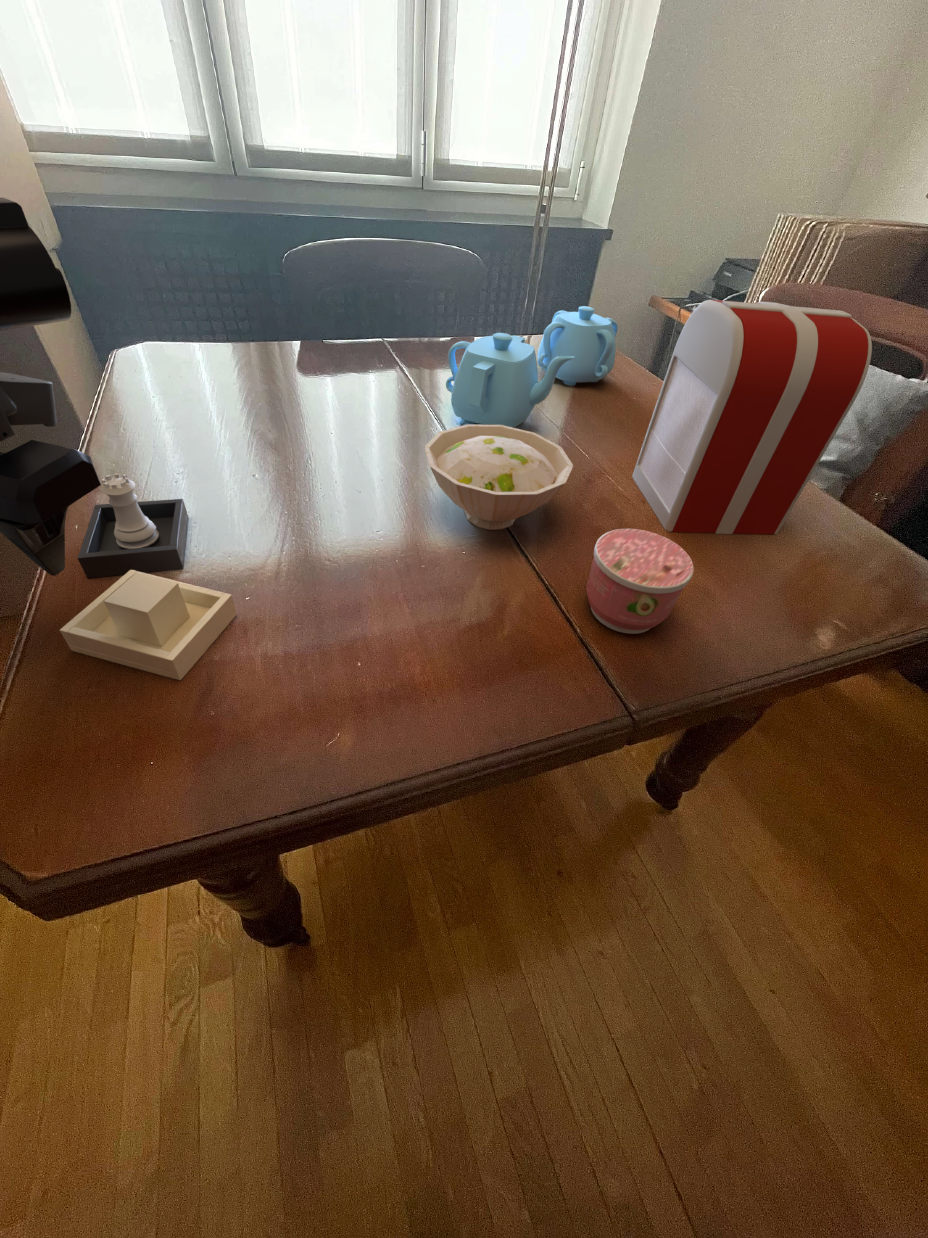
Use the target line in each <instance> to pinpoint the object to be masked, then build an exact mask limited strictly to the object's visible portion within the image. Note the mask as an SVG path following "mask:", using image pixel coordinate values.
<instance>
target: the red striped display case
mask: <svg viewBox="0 0 928 1238" xmlns="http://www.w3.org/2000/svg"><path fill="white" fill-rule="evenodd" d="M872 354H873V343H872V338H871V334H870V332H869V330H868V329H867V328H866V327H864V326H863V325H862V324H861V323H860V322H858V320H856V319H855V318H853V315H852V314H850V313H848V312H846V311H844V310H839V309H827V308H826V309H825V308H818V307H817V308H816V307H805V306H804V307H803V306H792V305H788V304H783V303H780V302H773V301H772V302H771V301H757V302H745V301H733V300H721V299H707V300H704V301H702V302H701V303H700V304H698V305H697V306H696V307H695V308H694V310H692V312H691V313H690V315H689V317H688V319H687V320H686V322H685V323H684V326H683V328H682V330H681V331H680V334H679V337H678V338H677V340H676V344H675V346H674V350H673V352H672V355H671V358H670V362H669V365H668V367H667V370H666V374H665V376H664V380H663V383H662V385H661V389H660V392H659V395H658V397H657V401H656V403H655V407H654V409H653V412H652V415H651V418H650V422H649V424H648V427H647V431H646V434H645V436H644V439H643V442H642V445H641V448H640V452H639V455H638V457H637V460H636V463H635V466H634V470H633V473H632V475H631V477H632V479H633V481H634V483H635V484H636V486H637V487H638V489H639V490H640V492H641V494H642V496H643V497H644V498H645V500H646V502H647V503H648V505H649V506H650V508H651V509H652V512H653V513H654V514H655V516H656V518H657V520H658V521H659V522H660V524H661V526H662V527H663V529H664V530H665V531H666V532H670V533H672V532H673V533H693V534H694V533H696V534H697V533H698V534H699V533H701V534H704V533H705V534H716V535H733V534H736V535H737V534H741V535H778V534H779V532H780V530H781V529H782V527H783V525H784V523H785V522H786V520H787V518H788V516H789V515H790V513H791V512H792V510H793V508H794V506H795V504H796V503H797V501H798V499H799V497H800V496H801V494H802V492H803V491H804V490H805V487H806V486H807V484H808V482H809V480H810V479H811V478H812V475H813V474H814V471H815V470H816V469H817V466H818V465H819V463H820V461H821V460H822V458H823V456H824V454H825V453H826V451H827V450H828V447H829V446H830V444H831V442H832V441H833V439H834V437H835V436H836V434H837V432H838V430H839V428H841V425H842V424H843V422H844V420H845V418H846V416H847V415H848V413H849V411H850V410H851V408H852V407H853V405H854V403H855V401H856V399H857V397H858V395H859V393H861V392H860V391H861V389H862V387H863V385H864V382H865V381H866V377H867V375H868V372H869V368H870V364H871V360H872Z"/></svg>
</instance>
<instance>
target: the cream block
mask: <svg viewBox="0 0 928 1238" xmlns="http://www.w3.org/2000/svg"><path fill="white" fill-rule="evenodd" d="M104 603H105V605H106V607H107V609H108V611H109V613H110V615H111V618H112V620H113V622H114V624H115V626H116V628H117V630H118V632H119V634H120V636H124V637H127V638H131V639H135V640H139V641H142V642H146V643H150V644H154V645H157V646H161V647H162V646H163V645H164V644H165V642H166V641H167V640H168V639H169V638H170V637H171V636H172V635H173V634H174V633H175V632H176V631H177V630H178V629H179V628H180V627H181V626H182V624H183V623H184V622H185V621H186V620H187V619H188V618H189V617H190V616H189V613H188V610H187V607H186V604H185V601H184V598H183V596H182V593H181V590H180V587H179V584H178V583H176V582H172V581H168V580H164V579H160V578H156V577H152V576H148V575H144V574H140V573H136V574H135V575H133V576H132V577H131V578H130V579H129V580H128V581H127V582H125V583H124V584H123V585H122V586H121V587H120V588H118V589H117V590H116V591H115V592H114V593H113V594H111V595H110V596H109V597H108V598H107V599H106V600H105V601H104Z"/></svg>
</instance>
